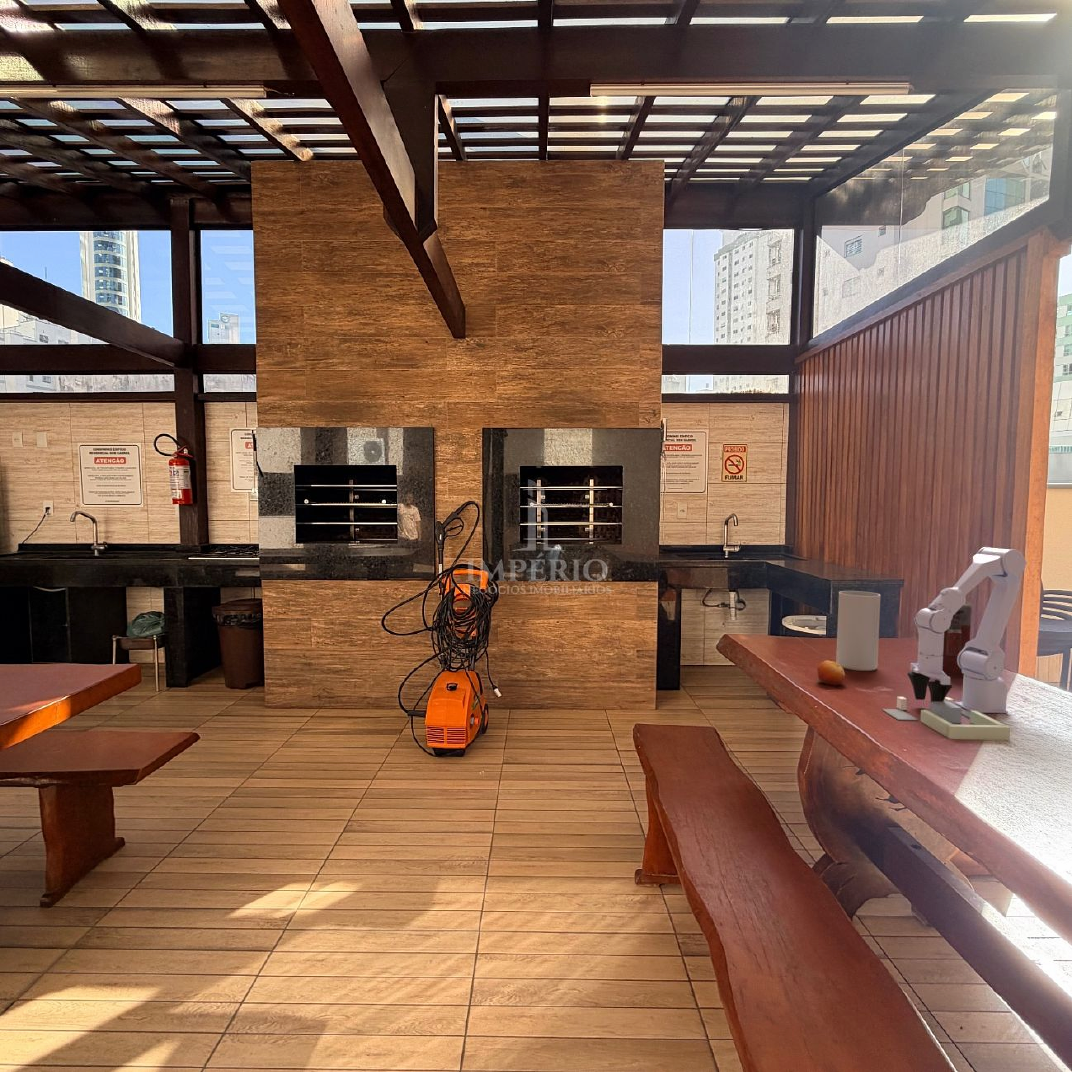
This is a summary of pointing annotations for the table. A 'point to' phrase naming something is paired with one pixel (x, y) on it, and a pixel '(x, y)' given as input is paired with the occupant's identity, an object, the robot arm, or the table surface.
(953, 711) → the block
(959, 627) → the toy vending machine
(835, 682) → the fruit
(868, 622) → the cylinder vase
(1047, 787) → the table surface
